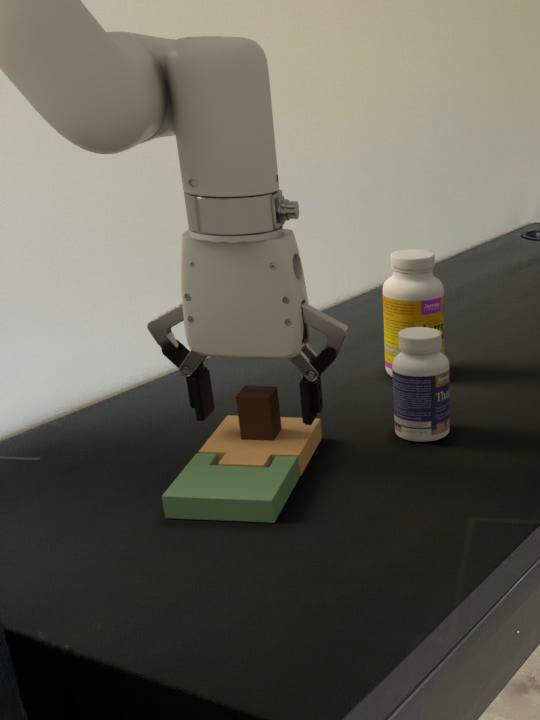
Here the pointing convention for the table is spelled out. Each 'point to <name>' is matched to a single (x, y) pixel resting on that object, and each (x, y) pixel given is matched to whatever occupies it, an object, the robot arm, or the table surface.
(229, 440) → the tan pad
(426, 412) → the pill bottle
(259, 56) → the robot arm
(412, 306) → the supplement bottle
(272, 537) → the table surface
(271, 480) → the green pad
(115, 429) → the table surface
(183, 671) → the table surface
